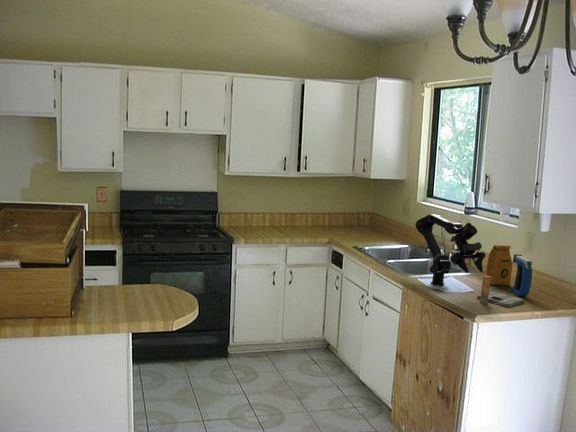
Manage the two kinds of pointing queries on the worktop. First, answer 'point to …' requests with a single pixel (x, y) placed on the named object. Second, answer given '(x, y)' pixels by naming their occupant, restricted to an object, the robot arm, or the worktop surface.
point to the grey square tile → (503, 299)
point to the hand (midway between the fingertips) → (474, 272)
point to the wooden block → (485, 289)
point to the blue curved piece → (522, 276)
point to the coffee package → (499, 265)
